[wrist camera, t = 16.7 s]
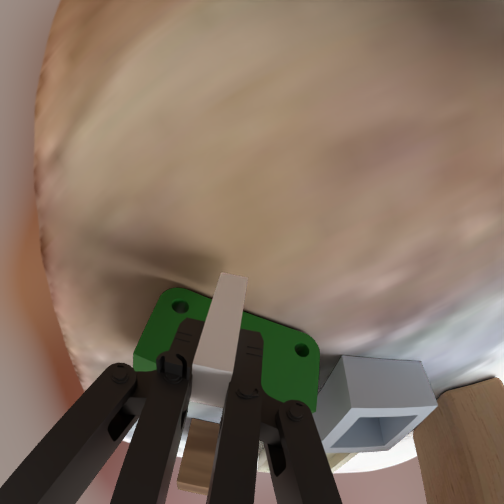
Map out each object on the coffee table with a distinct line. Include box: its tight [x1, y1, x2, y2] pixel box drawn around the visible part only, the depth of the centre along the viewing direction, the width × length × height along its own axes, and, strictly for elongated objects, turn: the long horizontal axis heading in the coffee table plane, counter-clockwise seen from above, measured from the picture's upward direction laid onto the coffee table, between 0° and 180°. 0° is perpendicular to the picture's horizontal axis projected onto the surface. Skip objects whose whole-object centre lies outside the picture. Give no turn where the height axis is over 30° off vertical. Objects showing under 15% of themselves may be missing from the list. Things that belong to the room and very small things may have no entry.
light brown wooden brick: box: [177, 418, 220, 495], centre depth 24 cm, size 4×4×8 cm
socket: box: [312, 355, 438, 453], centre depth 20 cm, size 8×8×5 cm
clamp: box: [133, 288, 320, 413], centre depth 18 cm, size 12×6×9 cm, turn 61°
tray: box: [258, 447, 359, 473], centre depth 27 cm, size 10×10×2 cm
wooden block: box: [413, 377, 504, 504], centre depth 16 cm, size 10×10×20 cm
